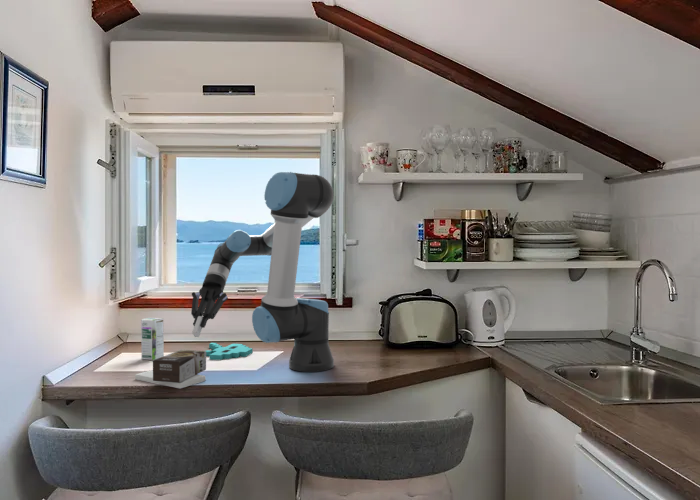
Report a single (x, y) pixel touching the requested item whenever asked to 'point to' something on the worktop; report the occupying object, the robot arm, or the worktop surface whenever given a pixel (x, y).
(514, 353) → the worktop surface
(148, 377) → the board
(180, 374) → the coffee box
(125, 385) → the worktop surface
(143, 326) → the syrup box
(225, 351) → the alien figure
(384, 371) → the worktop surface
